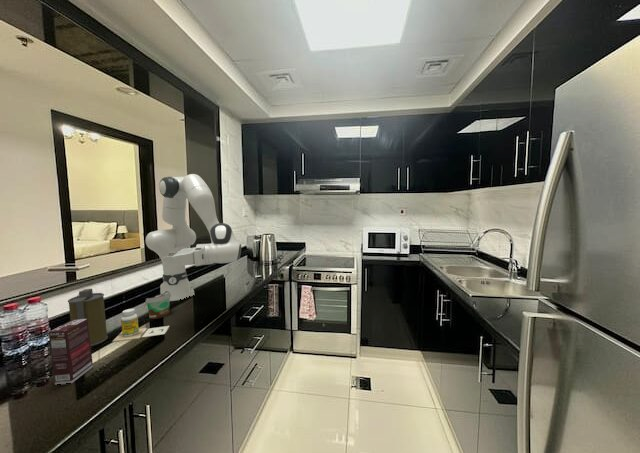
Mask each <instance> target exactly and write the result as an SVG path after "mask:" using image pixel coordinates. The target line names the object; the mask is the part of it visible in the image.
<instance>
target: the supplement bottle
mask: <svg viewBox="0 0 640 453" xmlns="http://www.w3.org/2000/svg"><path fill="white" fill-rule="evenodd" d="M138 318H139V317H138V314H137V313H136V309H135V308H128V309H125V310H123V311H122V317H121V318H120V323H121V332H122V334H123V336H124V337H128V336H133V335H135V334H137V333H138V332H139V329H140V328H139V319H138Z"/></svg>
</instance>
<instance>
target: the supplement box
mask: <svg viewBox="0 0 640 453" xmlns="http://www.w3.org/2000/svg"><path fill="white" fill-rule="evenodd" d="M48 337H49V338H48V339H49V344H50V346H49V347H50V352H51V353H50V354H51V360H52V362H51V363H52V371H53V372H52V373H53V378H54V385H55V386H58V385H57V384H61V385H67V384H66V383H71V384H73V383H74V382H75V381H77V380H78V379H79V378H81V377H82V376H83V375H84V374H86V373H87V372H88V371H90V370H91V369H92V368H93V367H94V364H93V355H92V346H91V345H90V336H89V328H88V319H76V320H69V321H67V322H65V323H64V324H62V325H59V326H57V327H56V328H54V329H52V330H49V331H48Z"/></svg>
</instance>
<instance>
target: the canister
mask: <svg viewBox="0 0 640 453" xmlns="http://www.w3.org/2000/svg"><path fill="white" fill-rule="evenodd" d="M104 296H105V294H104V293H103V292H93V288H86V289H85V288H84V289H83V290H80V291H78V295H77V296H73V297H71V298H69V299H67V303H68V307H69V308H68V309H69V318H70V319H69V321H71V320H76V319H88V328H89V336H90V345H91V347H93V346H98V345H99V344H101V343H103V342H105V341H106V340H107V339H108V337H109V336H108V331H107V321H106V310H105V299H104Z"/></svg>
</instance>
